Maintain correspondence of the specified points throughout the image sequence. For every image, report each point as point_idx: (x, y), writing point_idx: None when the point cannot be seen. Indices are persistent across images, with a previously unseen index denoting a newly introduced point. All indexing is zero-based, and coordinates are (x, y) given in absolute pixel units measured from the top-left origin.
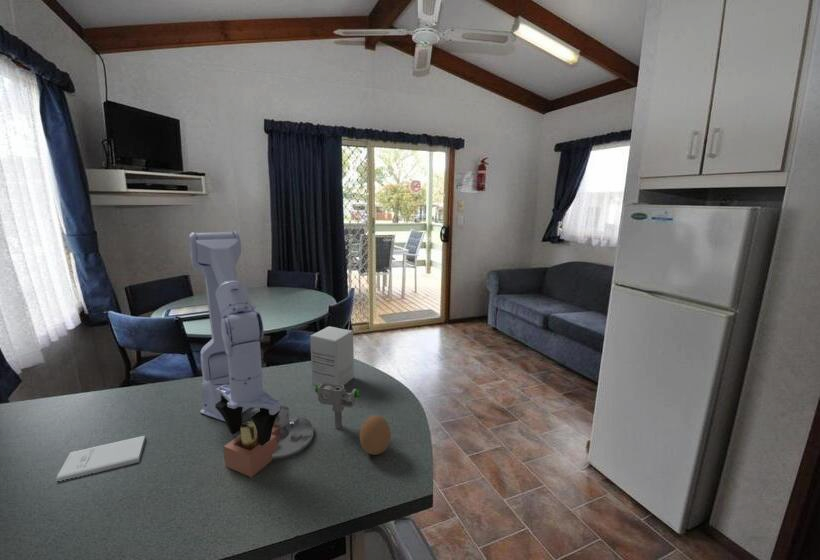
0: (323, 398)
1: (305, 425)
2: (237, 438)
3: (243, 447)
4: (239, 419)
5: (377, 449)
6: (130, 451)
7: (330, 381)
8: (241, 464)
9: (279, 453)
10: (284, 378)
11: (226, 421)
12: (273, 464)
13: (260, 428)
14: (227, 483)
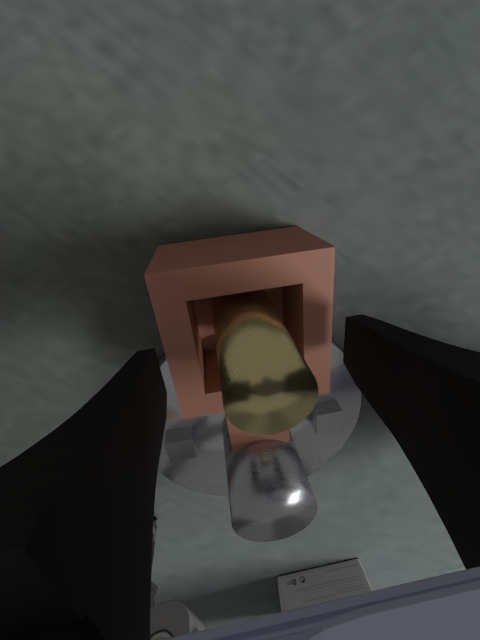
0: (170, 631)
1: (215, 481)
2: (322, 319)
3: (248, 300)
4: (378, 397)
5: None
6: None
7: (305, 601)
8: (210, 247)
9: (162, 369)
10: (445, 534)
11: (429, 343)
12: (156, 329)
13: (49, 439)
14: (207, 168)
